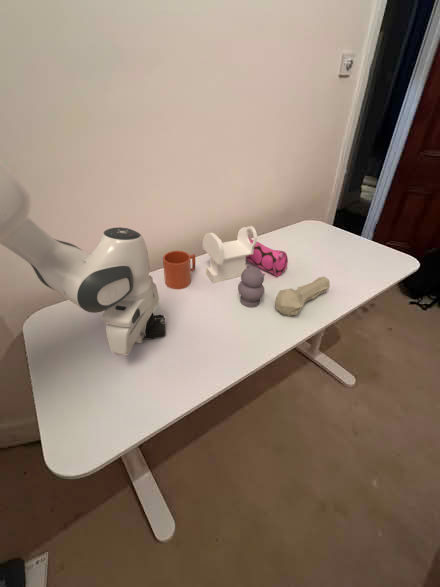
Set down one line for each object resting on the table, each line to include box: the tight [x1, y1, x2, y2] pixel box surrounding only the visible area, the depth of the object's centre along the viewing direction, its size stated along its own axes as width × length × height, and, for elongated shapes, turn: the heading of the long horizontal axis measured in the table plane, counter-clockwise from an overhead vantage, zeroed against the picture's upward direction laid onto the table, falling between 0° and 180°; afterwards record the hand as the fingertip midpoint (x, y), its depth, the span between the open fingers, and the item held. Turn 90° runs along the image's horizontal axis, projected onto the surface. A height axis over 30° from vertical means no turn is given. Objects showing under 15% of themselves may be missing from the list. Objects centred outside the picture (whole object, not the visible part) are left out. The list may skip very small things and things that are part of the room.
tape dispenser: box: [202, 225, 258, 284], centre depth 102 cm, size 14×13×18 cm
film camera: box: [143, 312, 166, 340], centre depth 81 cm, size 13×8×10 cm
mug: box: [162, 250, 196, 290], centre depth 101 cm, size 12×9×10 cm
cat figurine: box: [237, 263, 266, 308], centre depth 92 cm, size 8×8×12 cm
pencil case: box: [246, 235, 289, 277], centre depth 111 cm, size 21×10×10 cm, turn 45°
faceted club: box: [274, 276, 331, 316], centre depth 95 cm, size 9×8×25 cm
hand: (140, 339), depth 77 cm, fingers closed
